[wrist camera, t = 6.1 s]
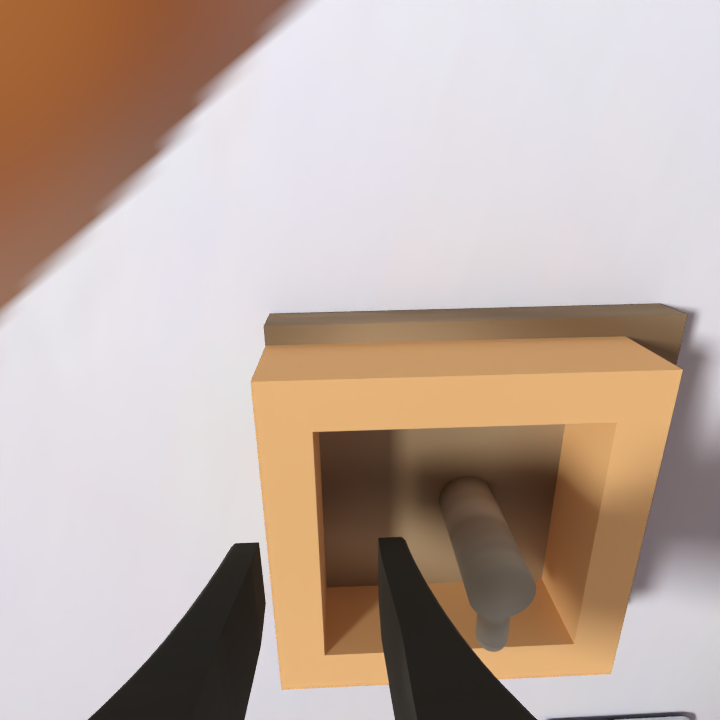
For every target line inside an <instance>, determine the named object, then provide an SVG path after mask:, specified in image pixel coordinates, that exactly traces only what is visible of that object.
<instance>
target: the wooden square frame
mask: <svg viewBox="0 0 720 720" xmlns="http://www.w3.org/2000/svg"><path fill="white" fill-rule="evenodd" d="M682 372H683V369H681V368H679V367H677V366H676V365H674V364H672V363H671V362H669V361H667V360H665V359H664V358H662V357H660V356H658V355H657V354H655V353H653V352H652V351H650V350H648V349H646V348H645V347H643V346H641V345H639V344H638V343H636V342H634V341H633V340H631V339H629V338H627V337H626V336H615V337H576V338H537V339H498V340H459V341H420V342H381V343H342V344H303V345H266V346H265V349H264V351H263V353H262V356H261V358H260V361H259V363H258V365H257V368H256V370H255V373H254V375H253V377H252V380H251V390H252V400H253V410H254V420H255V430H256V440H257V450H258V460H259V470H260V480H261V490H262V500H263V510H264V520H265V530H266V540H267V550H268V560H269V570H270V579H271V589H272V599H273V609H274V619H275V629H276V639H277V649H278V659H279V669H280V679H281V689H282V690H285V689H306V688H327V687H348V686H369V685H389V681H388V675H387V669H386V663H385V657H384V652H383V646H382V640H381V627H380V614H379V600H378V586H354V587H330V588H327V585H326V565H325V544H324V524H323V503H322V483H321V462H320V442H319V432H327V431H359V430H391V429H423V428H455V427H487V426H519V425H551V424H565V428H564V435H563V442H562V448H561V455H560V461H559V468H558V475H557V481H556V488H555V494H554V501H553V508H552V514H551V521H550V528H549V534H548V541H547V547H546V554H545V561H544V567H543V574H542V579H534V581H535V584H536V594H535V597H534V599H533V601H532V602H531V604H530V605H529V606H528V607H527V608H526V609H525V610H524V611H522V612H520V613H519V614H517V615H514V616H512V617H510V624H509V632H508V639H507V643H506V645H505V646H504V648H503V649H501V650H500V651H497V652H490V651H487V650H485V649H484V648H482V647H481V646H480V644H479V643H478V641H477V638H476V634H475V629H476V618H477V612H475V611H474V610H473V608H472V607H471V605H470V603H469V600H468V597H467V593H466V590H465V587H464V583H463V582H451V583H427V584H428V586H429V588H430V589H431V591H432V593H433V594H434V596H435V597H436V599H437V601H438V602H439V604H440V605H441V607H442V608H443V610H444V612H445V613H446V615H447V616H448V617H449V619H450V620H451V622H452V623H453V624H454V626H455V627H456V629H457V630H458V632H459V633H460V634H461V636H462V637H463V638H464V640H465V641H466V642H467V643H468V645H469V646H470V647H471V649H472V650H473V651H474V652H475V653H476V655H477V656H478V657H479V658H480V660H481V661H482V662H483V663H484V664H485V666H486V667H487V668H488V669H489V670H490V671H491V672H492V674H493V675H494V676H495V677H496V678H497V679H516V678H537V677H557V676H578V675H599V674H611V672H612V668H613V664H614V660H615V655H616V651H617V647H618V643H619V639H620V634H621V630H622V626H623V622H624V617H625V613H626V609H627V605H628V600H629V596H630V592H631V588H632V583H633V579H634V575H635V571H636V567H637V562H638V558H639V554H640V550H641V545H642V541H643V537H644V533H645V528H646V524H647V520H648V516H649V512H650V507H651V503H652V499H653V495H654V490H655V486H656V482H657V478H658V473H659V469H660V465H661V461H662V457H663V452H664V448H665V444H666V440H667V435H668V431H669V427H670V423H671V418H672V414H673V410H674V406H675V402H676V397H677V393H678V389H679V385H680V380H681V376H682Z"/></svg>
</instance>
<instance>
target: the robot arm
mask: <svg viewBox="0 0 720 720" xmlns="http://www.w3.org/2000/svg"><path fill="white" fill-rule="evenodd" d="M378 600H379V614H380V627H381V640H382V646H383V652H384V657H385V663H386V669H387V675H388V681H389V687H390V693H391V699H392V704H393V710H394V716H395V720H537V719H536V718H535V717H534V716H533V715H532V714H531V713H530V712H529V711H528V710H527V709H526V708H525V707H524V706H523V705H522V704H521V703H520V702H519V701H518V700H517V699H516V698H515V697H514V696H513V695H512V694H511V693H510V692H509V691H508V690H507V689H506V688H505V687H504V686H503V685H502V684H501V683H500V681H499V680H498V679H497V678H496V677H495V676H494V675H493V674H492V672H491V671H490V670H489V669H488V668H487V667H486V666H485V664H484V663H483V662H482V661H481V660H480V658H479V657H478V656H477V655H476V653H475V652H474V651H473V650H472V649H471V647H470V646H469V645H468V643H467V642H466V641H465V640H464V638H463V637H462V636H461V634H460V633H459V632H458V630H457V629H456V627H455V626H454V624H453V623H452V622H451V620H450V619H449V617H448V616H447V615H446V613H445V612H444V610H443V608H442V607H441V605H440V604H439V602H438V601H437V599H436V597H435V596H434V594H433V593H432V591H431V589H430V588H429V586H428V584H427V583H426V581H425V579H424V578H423V576H422V574H421V572H420V570H419V568H418V566H417V565H416V563H415V561H414V559H413V556H412V554H411V552H410V550H409V548H408V545H407V543H406V540H405V539H404V538H402V537H384V538H378ZM265 604H266V602H265V593H264V584H263V575H262V566H261V557H260V548H259V543H235V544H234V545H233V546H232V547H231V548H230V550H229V552H228V553H227V555H226V557H225V558H224V560H223V561H222V563H221V564H220V566H219V568H218V569H217V571H216V572H215V574H214V575H213V577H212V578H211V579H210V581H209V582H208V584H207V585H206V587H205V588H204V590H203V591H202V592H201V594H200V595H199V596H198V598H197V599H196V601H195V602H194V603H193V605H192V606H191V607H190V609H189V610H188V611H187V613H186V614H185V615H184V617H183V618H182V619H181V620H180V622H179V623H178V624H177V625H176V627H175V628H174V629H173V630H172V632H171V633H170V634H169V635H168V637H167V638H166V639H165V640H164V642H163V643H162V644H161V645H160V646H159V647H158V649H157V650H156V651H155V652H154V653H153V654H152V655H151V657H150V658H149V659H148V660H147V661H146V662H145V663H144V664H143V665H142V666H141V668H140V669H139V670H138V671H137V672H136V673H135V674H134V675H133V676H132V677H131V678H130V679H129V680H128V681H127V682H126V683H125V684H124V685H123V686H122V687H121V688H120V689H119V690H118V691H117V692H116V693H115V694H114V695H113V696H112V697H111V698H110V699H109V700H108V701H107V702H106V703H105V704H104V705H103V706H102V707H101V708H100V709H99V710H98V711H97V712H96V713H95V714H93V715H92V716H91V717H90V718H89V719H88V720H244V719H245V714H246V710H247V705H248V701H249V696H250V692H251V688H252V683H253V679H254V674H255V669H256V665H257V660H258V656H259V651H260V646H261V640H262V631H263V623H264V613H265ZM616 720H689V718H687V717H685V716H674V717H655V718H636V719H616Z"/></svg>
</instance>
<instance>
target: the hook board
mask: <svg viewBox="0 0 720 720" xmlns="http://www.w3.org/2000/svg"><path fill="white" fill-rule="evenodd" d="M686 320H687V314H684V313H682V312H679V311H677V310H675V309H672V308H670V307H667V306H665V305H663V304H624V305H585V306H547V307H509V308H471V309H432V310H394V311H356V312H317V313H279V314H269V316H268V318H267V320H266V323H265V325H264V335H265V346H266V345H303V344H342V343H381V342H420V341H459V340H498V339H537V338H576V337H615V336H626V337H627V338H629V339H631V340H633V341H634V342H636V343H638V344H639V345H641V346H643V347H645V348H646V349H648V350H650V351H652V352H653V353H655V354H657V355H658V356H660V357H662V358H664V359H665V360H667V361H669V362H671V363H672V364H674V365H676V364H677V359H678V355H679V350H680V346H681V342H682V337H683V333H684V328H685V324H686ZM564 428H565V424H551V425H519V426H487V427H455V428H423V429H391V430H359V431H327V432H319V442H320V462H321V483H322V503H323V524H324V544H325V565H326V585H327V588H330V587H354V586H378V538H384V537H402V538H404V539H405V540H406V543H407V545H408V548H409V550H410V552H411V554H412V556H413V559H414V561H415V563H416V565H417V566H418V568H419V570H420V572H421V574H422V576H423V578H424V579H425V581H426V583H451V582H463V583H464V587H465V590H466V593H467V597H468V600H469V603H470V605H471V607H472V608H473V610H474V611H475V612H477V618H476V629H475V634H476V638H477V641H478V643H479V644H480V646H481V647H482V648H484V649H485V650H487V651H490V652H497V651H500V650H501V649H503V648H504V646H505V645H506V643H507V639H508V632H509V624H510V617H512V616H514V615H517V614H519V613H520V612H522V611H524V610H525V609H526V608H527V607H528V606H529V605H530V604H531V602H532V601H533V599H534V597H535V594H536V584H535V581H534V579H542V574H543V567H544V561H545V554H546V547H547V541H548V534H549V528H550V521H551V514H552V508H553V501H554V494H555V488H556V481H557V475H558V468H559V461H560V455H561V448H562V442H563V435H564Z"/></svg>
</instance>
